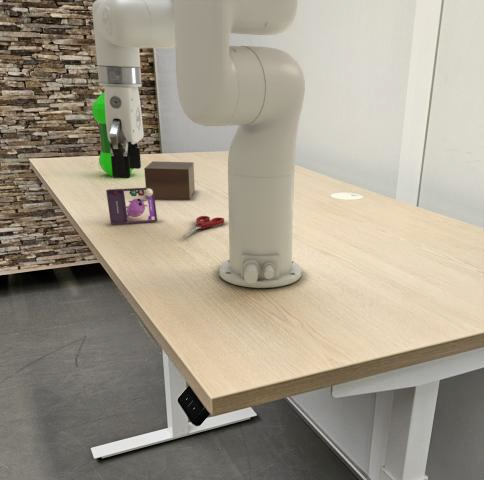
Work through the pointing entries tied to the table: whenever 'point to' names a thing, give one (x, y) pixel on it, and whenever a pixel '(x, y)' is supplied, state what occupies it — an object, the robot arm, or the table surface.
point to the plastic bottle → (103, 134)
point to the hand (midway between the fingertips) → (127, 172)
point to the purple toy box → (130, 205)
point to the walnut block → (170, 179)
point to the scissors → (206, 223)
